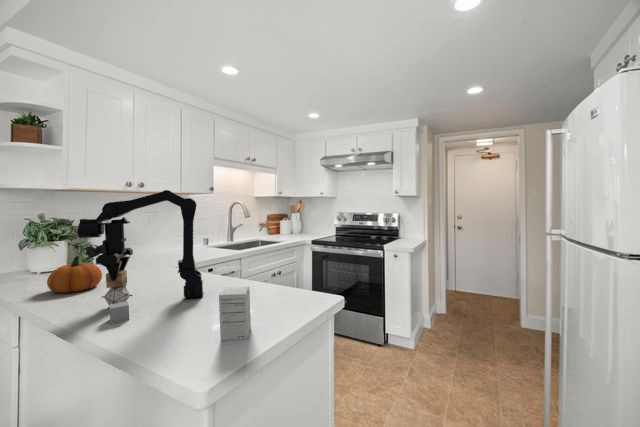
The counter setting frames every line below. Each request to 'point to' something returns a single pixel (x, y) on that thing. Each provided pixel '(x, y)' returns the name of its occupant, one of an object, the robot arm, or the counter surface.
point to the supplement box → (234, 313)
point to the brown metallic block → (117, 279)
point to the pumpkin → (74, 277)
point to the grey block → (119, 312)
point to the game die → (117, 295)
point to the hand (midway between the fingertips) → (116, 278)
